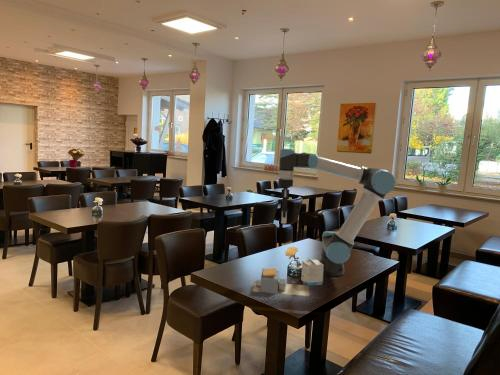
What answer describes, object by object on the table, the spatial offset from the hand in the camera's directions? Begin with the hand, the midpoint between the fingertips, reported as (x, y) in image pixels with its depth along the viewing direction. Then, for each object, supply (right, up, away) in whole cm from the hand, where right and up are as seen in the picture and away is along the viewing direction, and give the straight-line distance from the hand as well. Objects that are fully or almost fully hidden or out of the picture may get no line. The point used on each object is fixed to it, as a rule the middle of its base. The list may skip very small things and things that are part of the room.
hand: (283, 223), depth 196 cm
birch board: (-3, -31, -16) cm, 35 cm away
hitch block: (-8, -30, -16) cm, 34 cm away
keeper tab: (-9, -23, -16) cm, 29 cm away
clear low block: (-8, -30, -16) cm, 34 cm away
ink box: (+14, -31, -6) cm, 34 cm away
